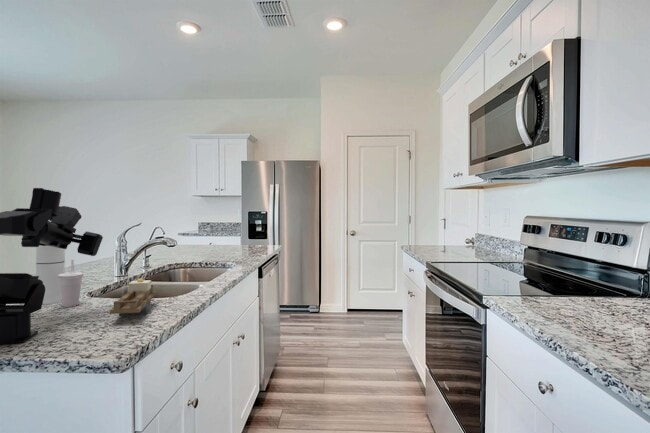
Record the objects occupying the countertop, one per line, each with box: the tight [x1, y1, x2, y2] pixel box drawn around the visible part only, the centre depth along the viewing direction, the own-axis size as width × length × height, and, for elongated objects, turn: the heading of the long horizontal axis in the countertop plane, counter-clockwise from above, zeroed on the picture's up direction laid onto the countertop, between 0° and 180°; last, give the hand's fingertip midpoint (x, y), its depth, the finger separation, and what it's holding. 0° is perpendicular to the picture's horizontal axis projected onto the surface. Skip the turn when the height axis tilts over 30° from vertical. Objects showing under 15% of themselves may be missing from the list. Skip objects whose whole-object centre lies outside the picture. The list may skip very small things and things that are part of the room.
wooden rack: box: [109, 284, 157, 317], centre depth 100 cm, size 20×7×6 cm, turn 15°
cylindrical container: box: [35, 245, 66, 305], centre depth 110 cm, size 7×7×25 cm
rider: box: [128, 278, 152, 296], centre depth 104 cm, size 4×5×5 cm
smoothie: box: [58, 259, 84, 308], centre depth 106 cm, size 6×6×14 cm
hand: (80, 244), depth 104 cm, fingers open, 9 cm apart
